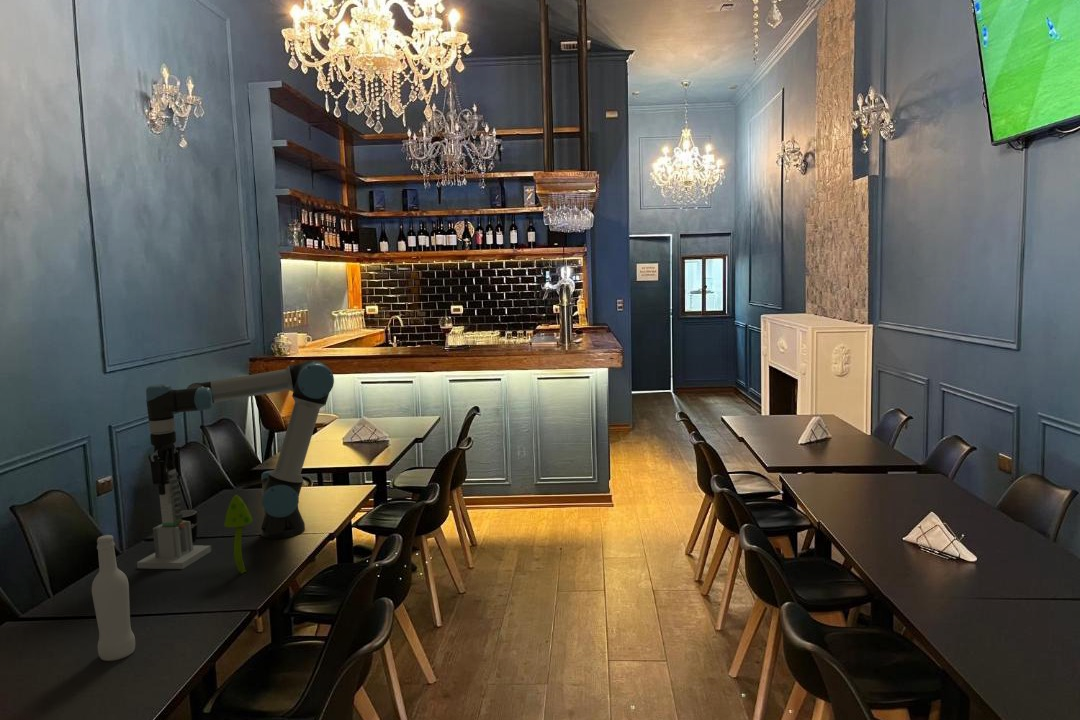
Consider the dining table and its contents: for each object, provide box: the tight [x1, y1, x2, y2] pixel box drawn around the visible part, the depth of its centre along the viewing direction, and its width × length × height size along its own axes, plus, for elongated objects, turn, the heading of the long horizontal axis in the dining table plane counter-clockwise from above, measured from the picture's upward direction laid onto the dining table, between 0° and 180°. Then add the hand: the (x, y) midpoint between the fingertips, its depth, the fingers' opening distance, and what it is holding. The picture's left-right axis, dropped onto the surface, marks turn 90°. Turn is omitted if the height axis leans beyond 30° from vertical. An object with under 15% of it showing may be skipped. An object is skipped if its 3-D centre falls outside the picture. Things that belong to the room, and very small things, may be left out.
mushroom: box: [223, 494, 254, 574], centre depth 241 cm, size 8×8×25 cm
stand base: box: [136, 521, 212, 570], centre depth 256 cm, size 16×16×13 cm
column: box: [158, 468, 183, 534], centre depth 255 cm, size 5×4×22 cm
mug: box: [180, 509, 198, 543], centre depth 276 cm, size 12×9×10 cm
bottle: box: [91, 534, 136, 662], centre depth 189 cm, size 8×8×30 cm
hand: (169, 501), depth 255 cm, fingers closed on column, 4 cm apart
